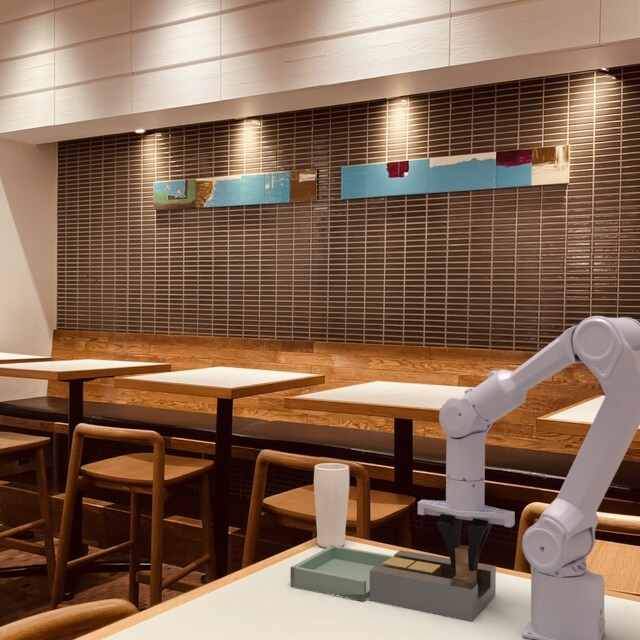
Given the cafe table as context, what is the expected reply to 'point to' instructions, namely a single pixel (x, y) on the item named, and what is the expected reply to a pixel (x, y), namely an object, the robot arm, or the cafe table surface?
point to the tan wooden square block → (398, 563)
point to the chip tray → (338, 572)
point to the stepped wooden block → (463, 565)
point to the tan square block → (425, 568)
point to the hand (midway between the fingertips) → (464, 567)
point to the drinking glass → (331, 503)
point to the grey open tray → (433, 588)
